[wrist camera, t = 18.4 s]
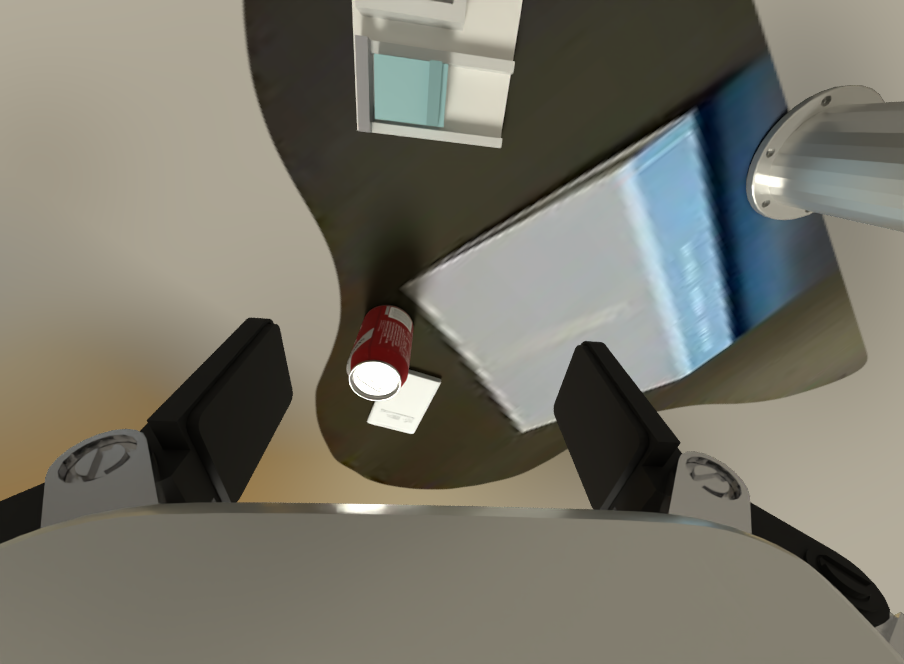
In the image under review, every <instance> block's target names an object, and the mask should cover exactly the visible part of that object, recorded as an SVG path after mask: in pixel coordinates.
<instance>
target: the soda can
mask: <svg viewBox="0 0 904 664" xmlns="http://www.w3.org/2000/svg"><path fill="white" fill-rule="evenodd" d="M412 337H413V322H412V320H411V318H410V316H409V315H408V314H407V313H406V312H405V311H404V310H402V309H401V308H399V307H396V306H393V305H380V306H377V307H374V308H373V309H371V310H370V311H369V312H368V313H367V314H366V316H365V318H364V320H363V323H362V326H361V328H360V331H359V333H358V336H357V339H356V341H355V344H354V347H353V349H352V352H351V354H350V357H349V360H348V363H347V373H348V376H349V384H350V386H351V388H352V390H353V391H354V392H355V393H356V394H357V395H359V396H361V397H363V398H365V399H368V400H373V401H382V400H386V399H389V398H391V397H393V396H394V395H396V394H397V393H398V391H399V390H400V388H401V387H402V386H403V385H404V383H405V382H406V380H407V377H408V372H409V363H410V355H411V346H412Z"/></svg>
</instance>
